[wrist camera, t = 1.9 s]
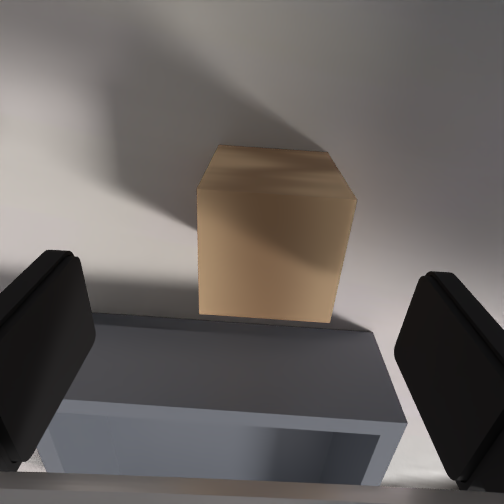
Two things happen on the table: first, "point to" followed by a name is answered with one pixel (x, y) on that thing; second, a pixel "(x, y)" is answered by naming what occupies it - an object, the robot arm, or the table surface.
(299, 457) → the bin
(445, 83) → the table surface
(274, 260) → the oak block
